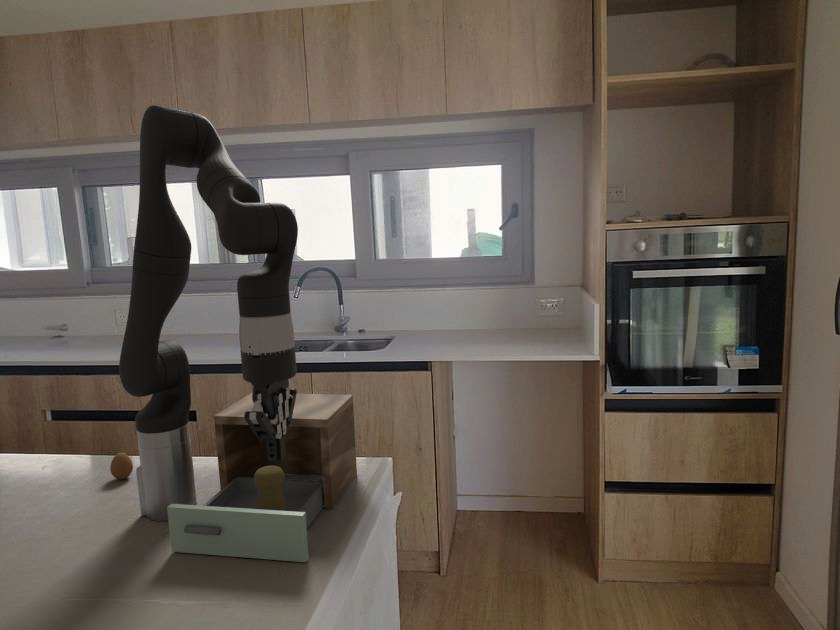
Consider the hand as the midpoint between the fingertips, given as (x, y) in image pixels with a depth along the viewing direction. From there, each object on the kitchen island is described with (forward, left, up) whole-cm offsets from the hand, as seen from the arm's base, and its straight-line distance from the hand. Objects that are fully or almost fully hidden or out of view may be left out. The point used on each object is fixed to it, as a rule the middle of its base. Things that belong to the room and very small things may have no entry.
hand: (276, 460), depth 86 cm
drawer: (-11, +16, -20) cm, 27 cm away
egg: (-53, +32, -20) cm, 65 cm away
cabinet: (-13, +32, -20) cm, 40 cm away
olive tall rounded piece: (-9, +14, -19) cm, 25 cm away
